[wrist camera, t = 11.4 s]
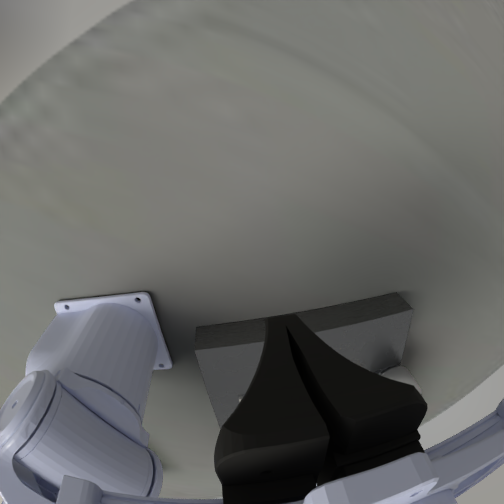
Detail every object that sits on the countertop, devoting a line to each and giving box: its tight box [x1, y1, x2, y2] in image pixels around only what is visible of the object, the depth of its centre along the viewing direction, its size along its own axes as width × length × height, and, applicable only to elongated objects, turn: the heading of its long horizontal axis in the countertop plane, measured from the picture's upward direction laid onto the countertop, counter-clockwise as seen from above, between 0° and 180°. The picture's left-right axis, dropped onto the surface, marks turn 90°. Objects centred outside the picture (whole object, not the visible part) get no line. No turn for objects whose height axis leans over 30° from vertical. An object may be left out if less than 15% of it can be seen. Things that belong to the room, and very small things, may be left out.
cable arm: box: [381, 366, 422, 395], centre depth 25 cm, size 18×4×3 cm, turn 8°
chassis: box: [195, 292, 413, 429], centre depth 26 cm, size 18×20×4 cm
